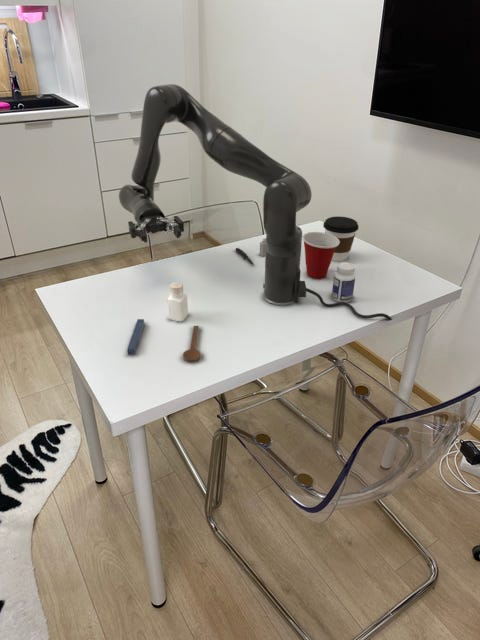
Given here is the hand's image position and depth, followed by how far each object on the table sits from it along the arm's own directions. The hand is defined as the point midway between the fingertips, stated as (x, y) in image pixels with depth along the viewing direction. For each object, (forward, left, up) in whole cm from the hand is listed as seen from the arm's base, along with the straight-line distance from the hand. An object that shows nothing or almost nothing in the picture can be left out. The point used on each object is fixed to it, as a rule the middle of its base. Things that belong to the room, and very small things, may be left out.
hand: (162, 236), depth 126 cm
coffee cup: (-51, -28, -18) cm, 61 cm away
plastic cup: (-43, -15, -18) cm, 49 cm away
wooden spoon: (-9, +22, -18) cm, 30 cm away
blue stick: (+5, +20, -18) cm, 28 cm away
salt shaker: (-4, +10, -18) cm, 21 cm away
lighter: (-29, -31, -18) cm, 46 cm away
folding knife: (-21, -26, -18) cm, 38 cm away
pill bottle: (-48, -1, -18) cm, 52 cm away
